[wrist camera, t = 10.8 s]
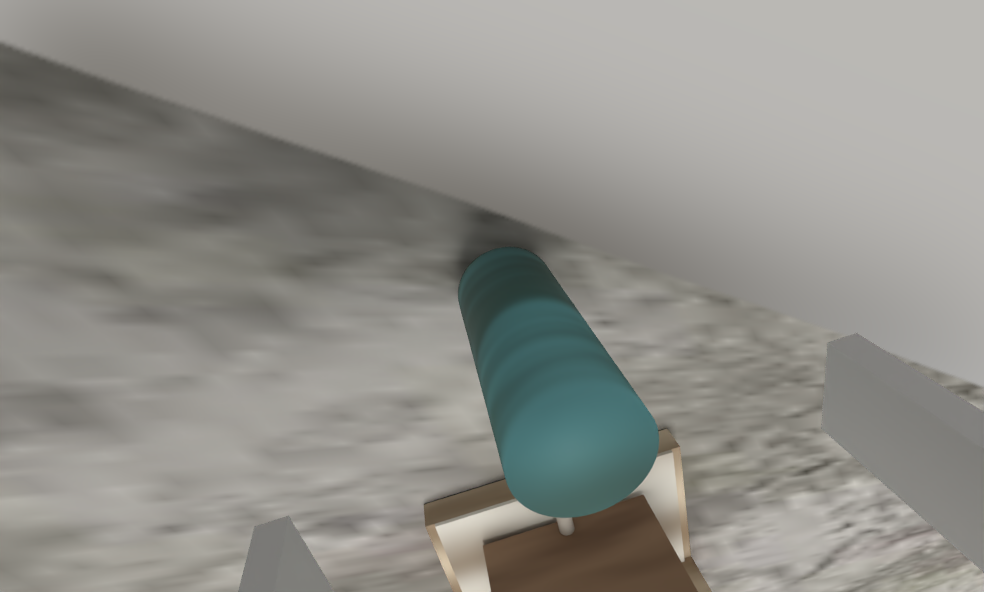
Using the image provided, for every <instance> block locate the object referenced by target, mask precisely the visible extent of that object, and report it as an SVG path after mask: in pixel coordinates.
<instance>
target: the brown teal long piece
mask: <svg viewBox="0 0 984 592" xmlns="http://www.w3.org/2000/svg"><path fill="white" fill-rule="evenodd" d="M458 301H459V305H460V309H461V313H462V317H463V320H464V324H465V328H466V332H467V335H468V339H469V343H470V347H471V350H472V354H473V358H474V362H475V366H476V369H477V373H478V377H479V381H480V384H481V388H482V392H483V396H484V399H485V403H486V407H487V411H488V415H489V418H490V422H491V426H492V430H493V433H494V437H495V441H496V445H497V448H498V452H499V456H500V460H501V464H502V467H503V471H504V475H505V479H506V482H507V485H508V487H509V490H510V491H511V493H512V494H513V496H514V497H515V498H516V499H517V500H518V502H520V503H521V504H522V505H523V506H525V507H526V508H528V509H530V510H531V511H533V512H536V513H538V514H541V515H545V516H549V517H556V519H557V522H555V523H552V524H549V525H546V526H543V527H540V528H536V529H533V530H530V531H527V532H524V533H521V534H518V535H514V536H511V537H508V538H505V539H502V540H499V541H496V542H492V543H489V544H486V545H483V550H484V556H485V561H486V567H487V572H488V577H489V583H490V588H491V592H698V591H697V589H696V587H695V586H694V584H693V582H692V580H691V578H690V577H689V575H688V573H687V571H686V570H685V568H684V566H683V564H682V562H681V561H680V559H679V557H678V555H677V553H676V552H675V550H674V548H673V546H672V545H671V543H670V541H669V539H668V537H667V536H666V534H665V532H664V530H663V529H662V527H661V525H660V523H659V521H658V520H657V518H656V516H655V514H654V513H653V511H652V509H651V507H650V505H649V504H648V502H647V500H646V498H645V496H644V495H640V496H637V497H634V498H631V499H628V500H624V501H621V500H623V499H624V498H625V497H627V496H628V495H630V494H631V493H632V492H633V491H634V490H635V489H636V488H637V487H638V486H639V485H640V484H641V483H642V482H643V481H644V479H645V478H646V477H647V475H648V474H649V472H650V470H651V469H652V467H653V465H654V462H655V460H656V457H657V453H658V449H659V433H658V428H657V425H656V423H655V420H654V419H653V417H652V415H651V414H650V412H649V411H648V409H647V408H646V407H645V405H644V404H643V402H642V401H641V399H640V398H639V397H638V395H637V394H636V392H635V391H634V390H633V388H632V387H631V385H630V384H629V382H628V381H627V380H626V378H625V377H624V375H623V374H622V372H621V371H620V370H619V368H618V367H617V365H616V364H615V363H614V361H613V360H612V358H611V357H610V355H609V354H608V353H607V351H606V350H605V348H604V347H603V345H602V344H601V343H600V341H599V340H598V338H597V337H596V335H595V334H594V333H593V331H592V330H591V328H590V327H589V326H588V324H587V323H586V321H585V320H584V318H583V317H582V316H581V314H580V313H579V311H578V310H577V308H576V307H575V306H574V304H573V303H572V301H571V300H570V299H569V297H568V296H567V294H566V293H565V291H564V290H563V289H562V287H561V286H560V284H559V283H558V281H557V280H556V279H555V277H554V276H553V274H552V273H551V271H550V270H549V269H548V267H547V266H546V264H545V263H544V262H543V261H542V260H541V259H540V258H539V257H538V256H537V255H535V254H534V253H532V252H530V251H528V250H525V249H522V248H517V247H502V248H497V249H494V250H491V251H488V252H486V253H484V254H482V255H481V256H479V257H478V258H477V259H475V260H474V261H473V262H472V263H471V264H470V265H469V266H468V268H467V269H466V271H465V272H464V274H463V276H462V278H461V281H460V284H459V289H458ZM620 501H621V502H620Z"/></svg>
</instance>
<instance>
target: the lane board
mask: <svg viewBox="0 0 984 592" xmlns="http://www.w3.org/2000/svg"><path fill="white" fill-rule="evenodd" d="M658 433H659V449H658V453H657V457H656V460H655V462H654V465H653V467H652V469H651V470H650V472H649V474H648V475H647V477H646V478H645V479H644V481H643V482H642V483H641V484H640V485H639V486H638V487H637V488H636V489H635V490H634V491H633V492H632V493H631V494H630V495H628V496H627V497H625V498H624V499H623V500H621V501H624V500H628V499H631V498H634V497H637V496H640V495H644V496H645V498H646V500H647V502H648V504H649V505H650V507H651V509H652V511H653V513H654V514H655V516H656V518H657V520H658V521H659V523H660V525H661V527H662V529H663V530H664V532H665V534H666V536H667V537H668V539H669V541H670V543H671V545H672V546H673V548H674V550H675V552H676V553H677V555H678V557H679V559H680V561H681V562H682V564H683V566H684V568H685V570H686V571H687V573H688V575H689V577H690V578H691V580H692V582H693V584H694V586H695V587H696V589H697V591H698V592H712V591H711V590H710V588H709V586H708V584H707V583H706V581H705V579H704V578H703V576H702V574H701V573H700V571H699V569H698V567H697V566H696V564H695V562H694V561H693V559H692V557H691V553H690V543H689V533H688V523H687V513H686V503H685V493H684V483H683V472H682V462H681V452H680V446H679V445H678V443H677V442H676V441H675V439H674V438H673V436H672V435H671V434H670V432H669V431H668V429H664V430H661V431H658ZM621 501H620V502H621ZM424 513H425V526H426V529H427V531H428V534H429V536H430V538H431V541H432V543H433V545H434V548H435V550H436V552H437V555H438V557H439V559H440V562H441V564H442V566H443V569H444V571H445V573H446V576H447V578H448V580H449V583H450V585H451V587H452V590H453V592H491V588H490V583H489V577H488V572H487V567H486V561H485V556H484V550H483V545H486V544H489V543H492V542H496V541H499V540H502V539H505V538H508V537H511V536H514V535H518V534H521V533H524V532H527V531H530V530H533V529H536V528H540V527H543V526H546V525H549V524H552V523H555V522H557V519H556V517H549V516H545V515H541V514H538V513H536V512H533V511H531V510H530V509H528V508H526V507H525V506H523V505H522V504H521V503H520V502H518V500H517V499H516V498H515V497H514V496H513V494H512V493H511V491H510V490H509V487H508V485H507V482H506V479H504V480H501V481H498V482H495V483H491V484H488V485H485V486H482V487H479V488H475V489H472V490H469V491H466V492H463V493H459V494H456V495H453V496H450V497H447V498H443V499H440V500H437V501H434V502H431V503H427V504H424Z"/></svg>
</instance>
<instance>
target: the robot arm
mask: <svg viewBox="0 0 984 592" xmlns="http://www.w3.org/2000/svg"><path fill="white" fill-rule="evenodd" d="M821 429H822V430H824V431H825V432H826V433H827V434H828V435H829V436H830V437H831V438H833V439H834V440H835V441H836V442H837V443H838V444H839V445H840V446H842V447H843V448H844V449H845V450H846V451H847V452H848V453H849V454H851V455H852V456H853V457H854V458H855V459H856V460H857V461H859V462H860V463H861V464H862V465H863V466H864V467H865V468H866V469H868V470H869V471H870V472H871V473H872V474H873V475H874V476H875V477H877V478H878V479H879V480H880V481H881V482H882V483H883V484H885V485H886V486H887V487H888V488H889V489H890V490H891V491H892V492H894V493H895V494H896V495H897V496H898V497H899V498H900V499H901V500H903V501H904V502H905V503H906V504H907V505H908V506H909V507H910V508H912V509H913V510H914V511H915V512H916V513H917V514H918V515H920V516H921V517H922V518H923V519H924V520H925V521H926V522H927V523H929V524H930V525H931V526H932V527H933V528H934V529H935V530H936V531H938V532H939V533H940V534H941V535H942V536H943V537H944V538H946V539H947V540H948V541H949V542H950V543H951V544H952V545H953V546H955V547H956V548H957V549H958V550H959V551H960V552H961V553H962V554H964V555H965V556H966V557H967V558H968V559H969V560H970V561H972V562H973V563H974V564H975V565H976V566H977V567H978V568H979V569H981V570H982V571H983V572H984V412H983V411H982V410H980V409H978V408H977V407H975V406H974V405H972V404H970V403H969V402H967V401H965V400H964V399H962V398H961V397H959V396H957V395H956V394H954V393H953V392H951V391H949V390H948V389H946V388H945V387H943V386H941V385H940V384H938V383H936V382H935V381H933V380H932V379H930V378H928V377H927V376H925V375H924V374H922V373H920V372H919V371H917V370H915V369H914V368H912V367H911V366H909V365H907V364H906V363H904V362H903V361H901V360H899V359H898V358H896V357H895V356H893V355H891V354H890V353H888V352H886V351H885V350H883V349H882V348H880V347H878V346H877V345H875V344H874V343H872V342H870V341H868V340H867V339H865V338H864V337H862V336H861V335H859V334H857V333H856V334H853V335H850V336H846V337H843V338H840V339H837V340H834V341H831V342H828V343H827V357H826V370H825V384H824V397H823V410H822V424H821ZM238 592H334V590H333V588H332V587H331V585H330V584H329V582H328V580H327V579H326V577H325V575H324V574H323V572H322V570H321V569H320V567H319V565H318V564H317V562H316V560H315V559H314V557H313V555H312V554H311V552H310V550H309V549H308V547H307V546H306V544H305V542H304V541H303V539H302V537H301V536H300V534H299V532H298V531H297V529H296V527H295V526H294V524H293V522H292V521H291V519H290V517H289V516H286V517H283V518H280V519H277V520H274V521H271V522H268V523H264V524H261V525H258V526H255V527H254V531H253V535H252V539H251V543H250V547H249V551H248V555H247V559H246V563H245V567H244V571H243V575H242V579H241V583H240V587H239V591H238Z"/></svg>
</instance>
